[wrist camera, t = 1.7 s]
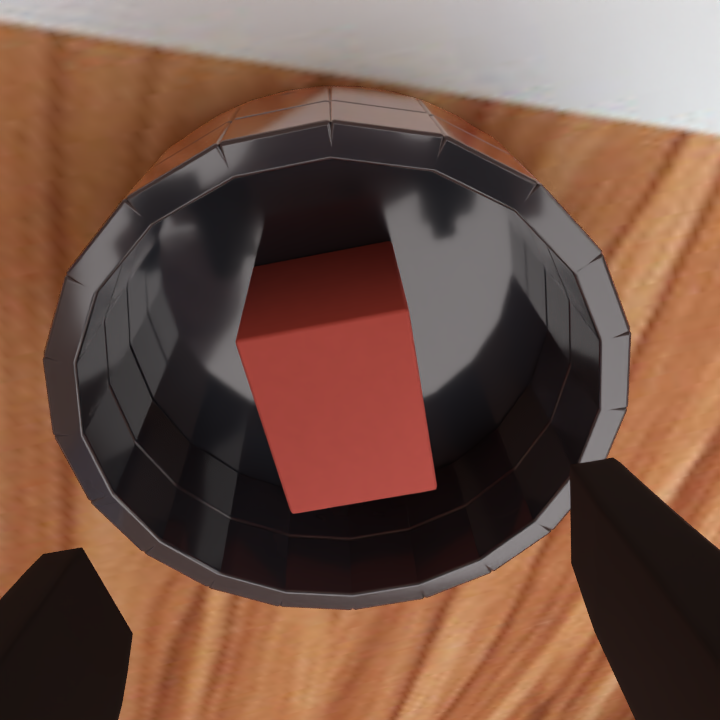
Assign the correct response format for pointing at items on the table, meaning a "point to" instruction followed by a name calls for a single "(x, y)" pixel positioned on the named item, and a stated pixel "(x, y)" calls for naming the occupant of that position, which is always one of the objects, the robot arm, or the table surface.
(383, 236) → the pot
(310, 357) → the brick red cuboid
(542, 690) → the table surface
